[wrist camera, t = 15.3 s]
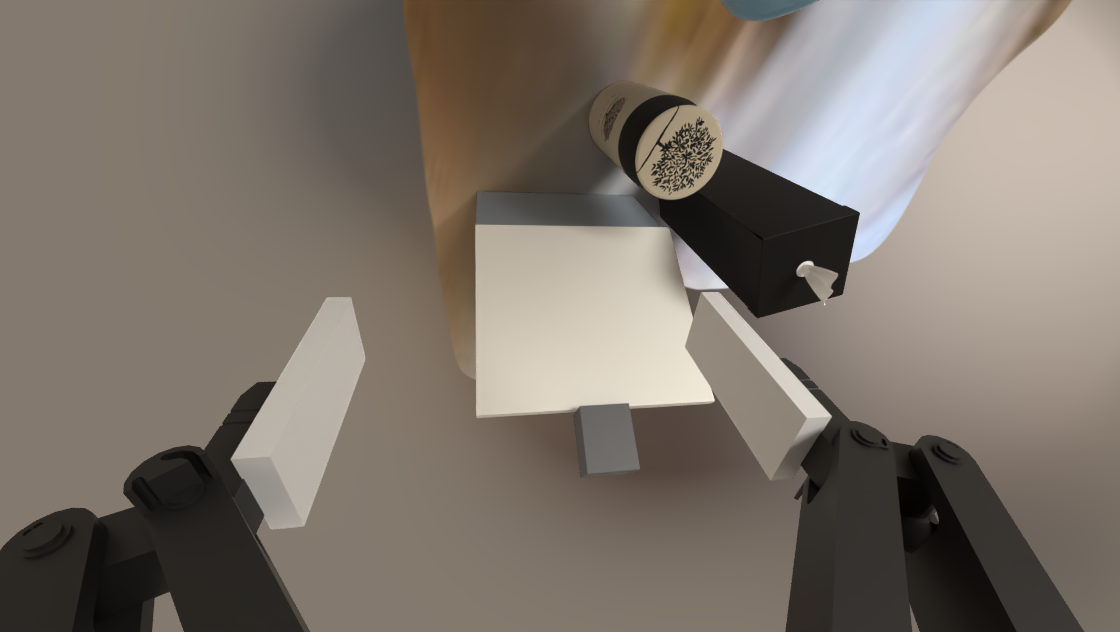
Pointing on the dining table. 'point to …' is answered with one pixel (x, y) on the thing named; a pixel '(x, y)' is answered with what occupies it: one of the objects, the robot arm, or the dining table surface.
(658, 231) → the lid
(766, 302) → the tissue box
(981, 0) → the dining table surface
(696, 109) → the travel mug
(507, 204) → the carton
